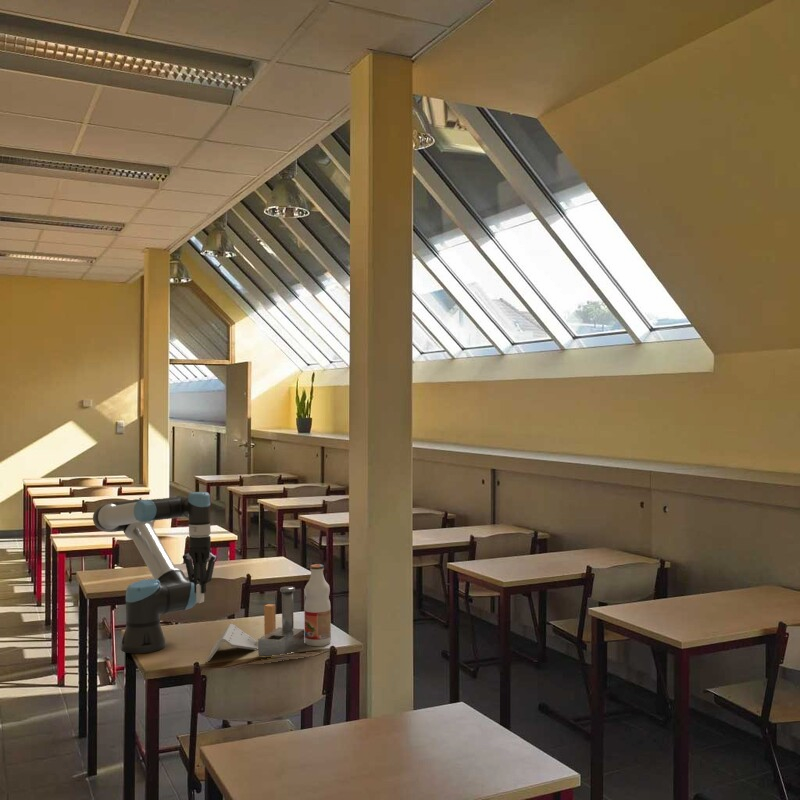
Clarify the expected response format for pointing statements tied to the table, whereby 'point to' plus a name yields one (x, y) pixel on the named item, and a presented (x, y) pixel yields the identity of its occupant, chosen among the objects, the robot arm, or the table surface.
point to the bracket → (234, 640)
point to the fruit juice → (317, 608)
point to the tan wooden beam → (269, 618)
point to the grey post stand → (283, 631)
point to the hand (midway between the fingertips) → (200, 602)
